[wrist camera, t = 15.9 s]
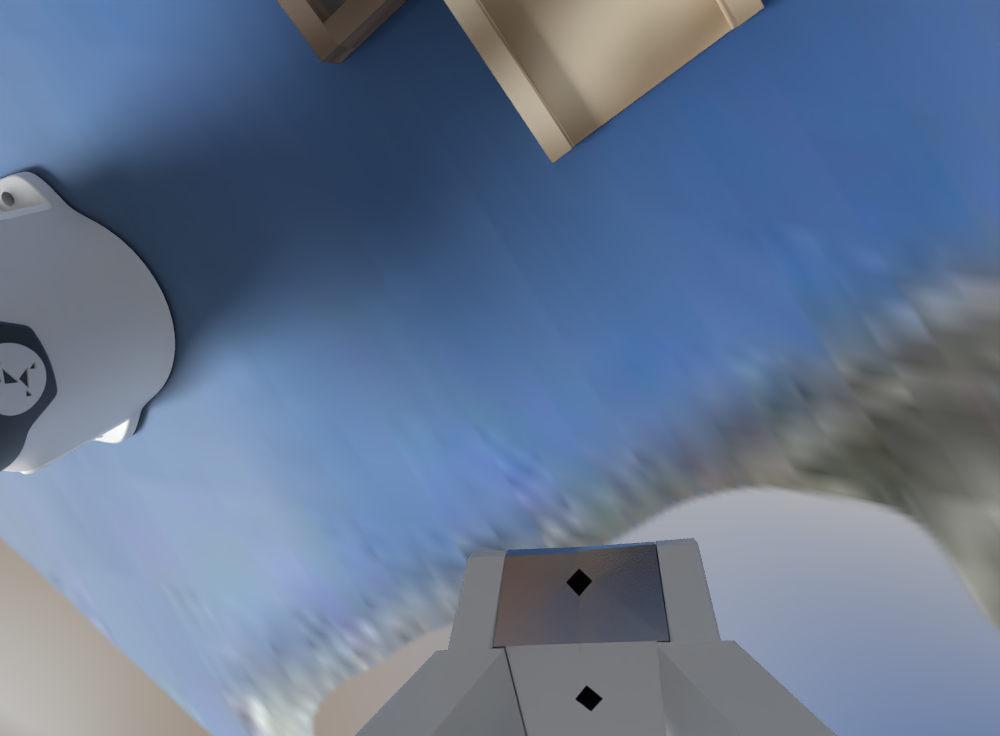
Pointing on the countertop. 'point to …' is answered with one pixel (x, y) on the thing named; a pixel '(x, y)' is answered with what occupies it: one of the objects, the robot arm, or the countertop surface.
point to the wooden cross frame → (551, 49)
